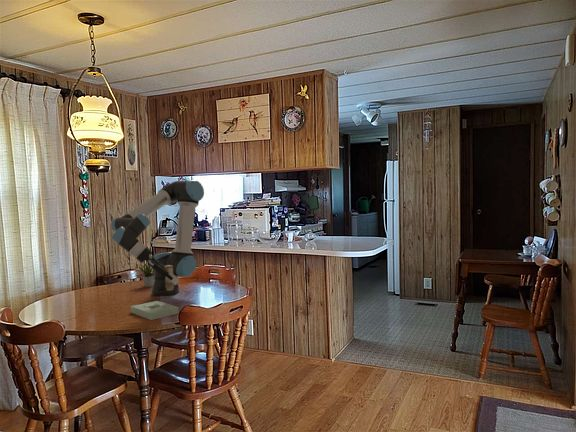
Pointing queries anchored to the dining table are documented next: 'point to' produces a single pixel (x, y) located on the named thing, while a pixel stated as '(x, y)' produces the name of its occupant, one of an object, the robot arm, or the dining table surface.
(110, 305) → the dining table surface
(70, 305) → the dining table surface
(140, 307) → the seat plank
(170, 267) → the peg
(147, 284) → the house plant
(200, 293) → the dining table surface
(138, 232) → the robot arm
